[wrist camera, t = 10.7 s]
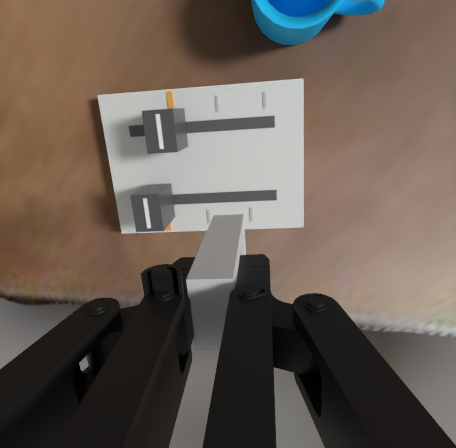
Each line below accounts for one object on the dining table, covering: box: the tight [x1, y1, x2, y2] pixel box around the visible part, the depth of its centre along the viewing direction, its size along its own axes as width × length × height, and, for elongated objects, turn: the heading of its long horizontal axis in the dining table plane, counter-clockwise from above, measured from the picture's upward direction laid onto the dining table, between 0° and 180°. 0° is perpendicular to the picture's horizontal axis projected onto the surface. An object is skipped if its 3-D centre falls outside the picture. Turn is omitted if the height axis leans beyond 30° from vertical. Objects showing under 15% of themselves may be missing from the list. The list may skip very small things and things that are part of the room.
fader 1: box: [142, 108, 188, 154], centre depth 35 cm, size 4×3×5 cm
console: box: [97, 79, 304, 233], centre depth 40 cm, size 16×22×2 cm
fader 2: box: [130, 183, 175, 232], centre depth 38 cm, size 4×3×5 cm
